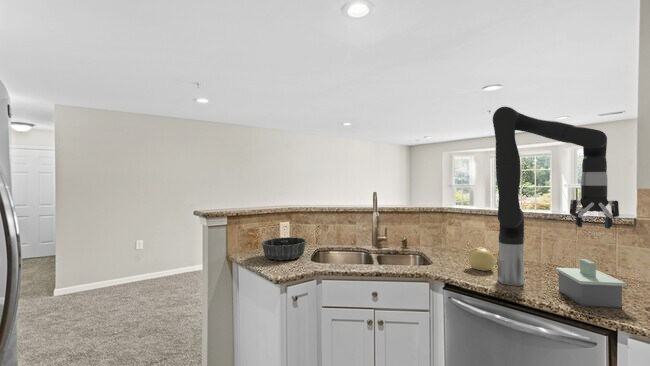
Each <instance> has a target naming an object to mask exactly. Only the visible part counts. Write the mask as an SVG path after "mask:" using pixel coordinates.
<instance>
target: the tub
mask: <svg viewBox="0 0 650 366" xmlns="http://www.w3.org/2000/svg"><path fill="white" fill-rule="evenodd" d="M558 292H560V293H561V294H563V295H564V296H566V297H567V298H569V299H570V300H572V301H574V302H575V303H576V304H577V305H579V306H581V307H583V308H584V307H587V308H589V307H590V308H601V309H602V308H604V309H605V308H606V309H623V286H614V285H591V284H579V283H578V282H576V281H574V280H572V279H571V278H569V277H567V276H565V275H563V274H562V273H560V272H558Z"/></svg>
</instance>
